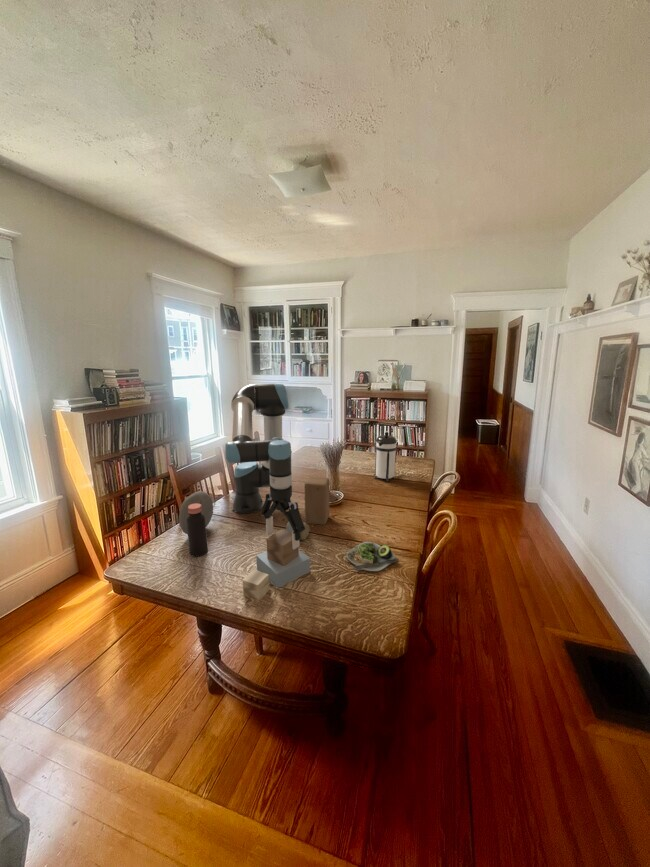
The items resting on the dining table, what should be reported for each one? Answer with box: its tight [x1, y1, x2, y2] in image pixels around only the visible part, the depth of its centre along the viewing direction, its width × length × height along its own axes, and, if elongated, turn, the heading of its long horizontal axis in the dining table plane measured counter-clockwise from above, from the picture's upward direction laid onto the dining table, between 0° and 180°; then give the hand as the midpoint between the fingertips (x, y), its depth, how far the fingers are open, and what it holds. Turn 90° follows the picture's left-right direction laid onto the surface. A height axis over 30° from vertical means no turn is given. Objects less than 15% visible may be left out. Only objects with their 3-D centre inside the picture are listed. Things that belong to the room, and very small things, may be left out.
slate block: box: [255, 550, 311, 589], centre depth 124 cm, size 14×14×6 cm
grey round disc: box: [178, 490, 214, 536], centre depth 148 cm, size 18×7×19 cm, turn 156°
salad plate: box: [346, 541, 400, 572], centre depth 130 cm, size 19×18×5 cm
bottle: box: [186, 503, 209, 558], centre depth 133 cm, size 7×7×20 cm
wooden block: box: [304, 476, 330, 526], centre depth 160 cm, size 10×10×20 cm
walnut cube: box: [266, 528, 300, 566], centre depth 122 cm, size 8×8×8 cm
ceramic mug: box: [285, 521, 310, 541], centre depth 147 cm, size 11×8×8 cm
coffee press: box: [372, 431, 398, 483], centre depth 213 cm, size 17×16×30 cm
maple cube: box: [242, 569, 270, 602], centre depth 112 cm, size 6×6×6 cm
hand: (282, 540), depth 122 cm, fingers open, 13 cm apart
